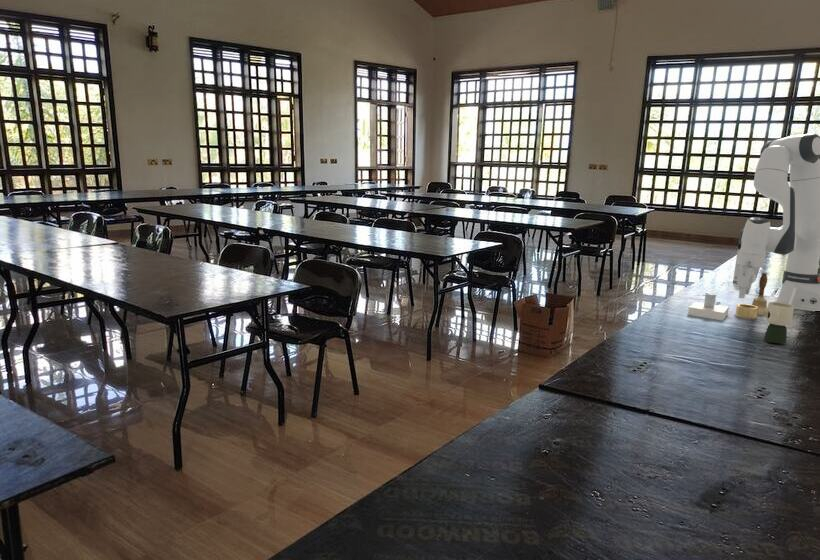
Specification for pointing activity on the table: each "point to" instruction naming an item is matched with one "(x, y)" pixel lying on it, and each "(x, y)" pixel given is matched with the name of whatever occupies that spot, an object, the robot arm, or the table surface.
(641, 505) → the table surface
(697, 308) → the block
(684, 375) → the table surface
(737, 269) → the travel mug
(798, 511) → the table surface
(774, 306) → the character mug
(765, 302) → the hand bell
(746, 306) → the brass ring
